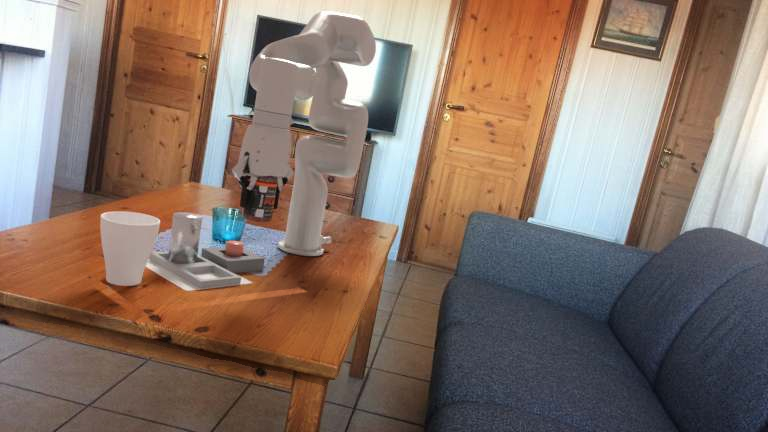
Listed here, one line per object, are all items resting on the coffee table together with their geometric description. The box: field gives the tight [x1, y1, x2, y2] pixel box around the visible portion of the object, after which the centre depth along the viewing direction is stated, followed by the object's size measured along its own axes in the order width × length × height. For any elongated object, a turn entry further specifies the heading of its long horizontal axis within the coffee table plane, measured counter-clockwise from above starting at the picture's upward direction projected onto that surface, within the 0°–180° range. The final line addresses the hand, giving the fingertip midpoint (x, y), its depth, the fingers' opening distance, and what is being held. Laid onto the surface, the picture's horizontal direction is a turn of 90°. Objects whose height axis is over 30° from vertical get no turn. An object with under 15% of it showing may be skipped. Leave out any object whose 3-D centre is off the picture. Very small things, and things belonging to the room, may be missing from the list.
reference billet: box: [168, 211, 204, 264], centre depth 133 cm, size 6×6×11 cm
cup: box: [99, 210, 161, 290], centre depth 117 cm, size 10×10×14 cm
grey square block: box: [200, 246, 266, 274], centre depth 141 cm, size 10×10×4 cm
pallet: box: [145, 251, 254, 292], centre depth 131 cm, size 16×20×3 cm
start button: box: [224, 240, 245, 257], centre depth 140 cm, size 4×4×3 cm
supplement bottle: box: [242, 176, 278, 223], centre depth 127 cm, size 6×6×11 cm
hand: (258, 207), depth 128 cm, fingers closed on supplement bottle, 6 cm apart
